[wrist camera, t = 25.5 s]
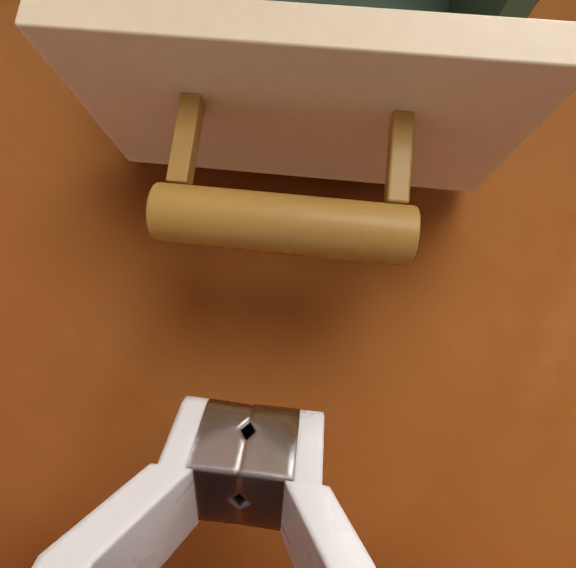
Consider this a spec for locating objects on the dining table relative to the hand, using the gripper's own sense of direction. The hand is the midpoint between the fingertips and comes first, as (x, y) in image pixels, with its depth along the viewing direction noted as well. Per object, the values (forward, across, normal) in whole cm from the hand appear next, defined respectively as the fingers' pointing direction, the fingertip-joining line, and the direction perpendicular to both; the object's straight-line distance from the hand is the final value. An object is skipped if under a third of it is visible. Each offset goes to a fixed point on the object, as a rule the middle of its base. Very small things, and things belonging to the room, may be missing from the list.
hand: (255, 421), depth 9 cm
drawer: (+14, 0, -6) cm, 15 cm away
